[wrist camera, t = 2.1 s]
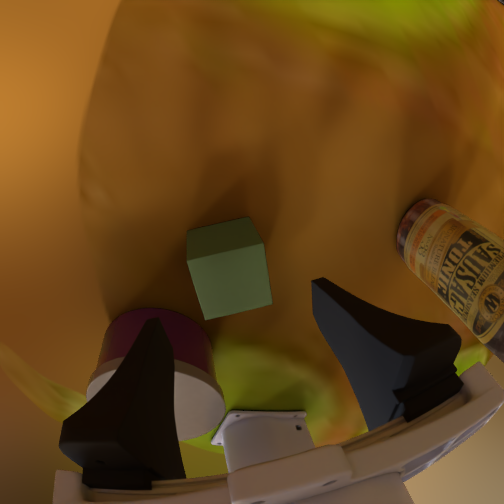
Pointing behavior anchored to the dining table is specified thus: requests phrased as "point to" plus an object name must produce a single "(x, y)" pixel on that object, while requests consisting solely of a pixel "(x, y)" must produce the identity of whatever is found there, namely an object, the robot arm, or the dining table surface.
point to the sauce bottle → (458, 266)
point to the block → (228, 268)
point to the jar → (186, 367)
